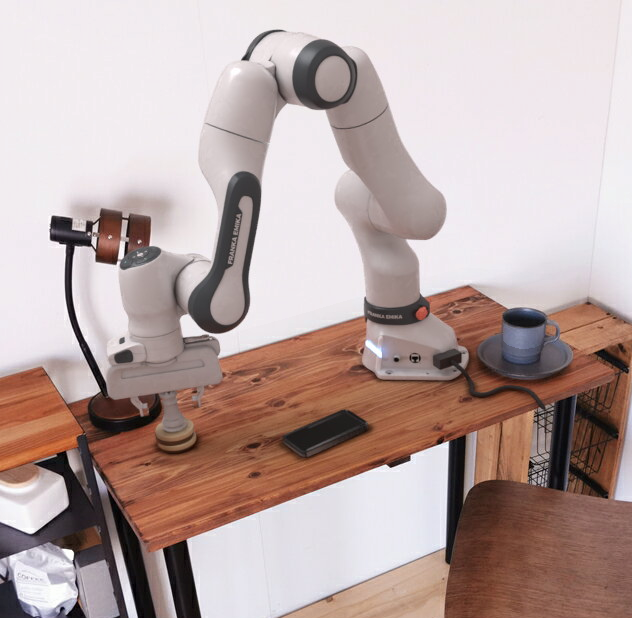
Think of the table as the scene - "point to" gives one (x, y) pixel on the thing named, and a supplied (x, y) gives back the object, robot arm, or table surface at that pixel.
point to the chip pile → (175, 438)
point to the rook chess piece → (172, 413)
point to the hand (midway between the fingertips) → (171, 410)
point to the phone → (325, 433)
